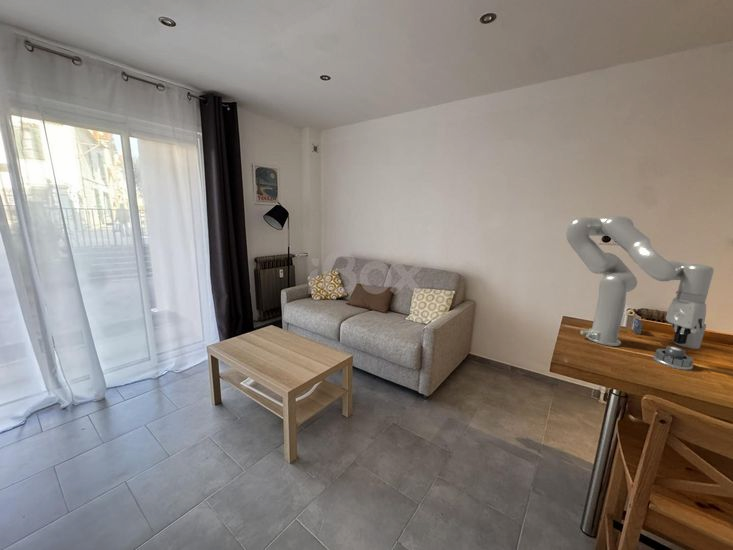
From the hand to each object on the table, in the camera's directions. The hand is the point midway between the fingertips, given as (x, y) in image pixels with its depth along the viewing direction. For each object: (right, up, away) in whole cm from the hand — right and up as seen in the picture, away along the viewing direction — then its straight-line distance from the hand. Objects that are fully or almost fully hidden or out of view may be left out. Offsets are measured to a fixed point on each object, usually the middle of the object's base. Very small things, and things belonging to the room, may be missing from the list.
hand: (679, 342), depth 114 cm
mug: (+23, -6, +20) cm, 31 cm away
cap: (0, -7, +2) cm, 8 cm away
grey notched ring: (-1, -8, +2) cm, 9 cm away
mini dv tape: (+14, -3, +34) cm, 37 cm away
